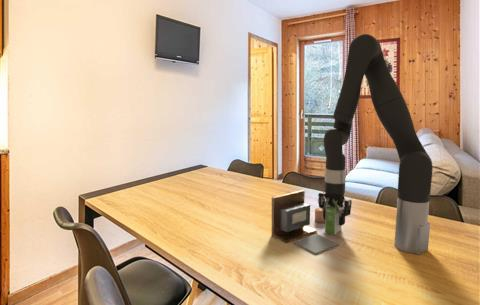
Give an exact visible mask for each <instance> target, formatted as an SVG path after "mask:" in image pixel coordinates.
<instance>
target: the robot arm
mask: <svg viewBox="0 0 480 305" xmlns="http://www.w3.org/2000/svg"><path fill="white" fill-rule="evenodd" d="M347 53H348V54H347V61H346V66H345V73H344V76H343V77H344V78H343V82H342V86H341V89H340V92H339V95H338V98H337V102H336V105H335V109H334V111H333V115H332V116H333V117H332V118H333V120H334V124H333V127H332V128H329V129H328V130H326V132H325V133H324V137H323V148H324V153H325V158H326V159H325V172H324V192H323V191H322V192H319V193H318V195H317V196H318V199H319V204H318V208H322V210H323V218H324V220H326V208H328V207H329V206H333V207H335V208H336V201H337V200H338V202H337V211H338V213H339V215H340V216H339V225H340V226H341V227H342V226H344V225H345V223H346V217H349V216H351V212H352V199H346V198H345V193H346V176H347V175H346V162H347V161H346V155H345V154H344V153H343V146H344V145H346V144H347V142H348V141H349V139H350V136H351V132H352V128H353V127H352V126H353V120H354V117H355V114H356V110H357V109H358V105H359V101H360V96H361V90H362V86H363V85H362V84H363V80H364V76H365V78H366V81H367V84H368V88H369V93H370V98H371V102H372V105H373V107H374V111H375V113H376V115H377V117H378V119H379V121H380V124H382V126H383V129H384V130H385V131H386V132H387V134H388V135H389V137H390V138H391V140H392V142H393V144H394V146H395V149H396V152H397V155H398V159H399V164H398V165H399V166H398V179H397V182H398V183H397V201H396V215H395V216H396V217H395V229H394V246H395V248H397V249H398V250H401V251H403V252H406V253H410V254H416V255H422V254H423V253H425V252H426V251H428V250H429V245H430V244H429V243H430V241H429V240H430V230H431V223H430V222H429V211H430V210H429V209H430V199H431V190H432V181H433V170H434V168H433V161H432V159H431V157H430V155H429V154H428V152H427V150H426V149H425V148H424V146H423V144H422V142H421V141H420V139H419V136H418V135H417V133H416V132H417V131H416V130H415V126H414V123H413V120H412V116H411V113H410V110H409V107H408V105H407V102H406V100H405V98H404V96H403V94H402V92H401V90H400V88H399V86H398V84H397V83H396V80H395V79H394V77H393V76H392V74H391V72H390V71H389V68H388V66H387V62H386V60H385V56H384V53H383V49H382V46H381V44H380V41H379V40H378V39H377V38H376V37H374V36H373V35H371V34H369V33H363V34H362V33H361V34H359V35H357V36H355V37H354V38H353V40H351V42H350V44H349V48H348V52H347ZM325 198H326V202H325ZM343 202H344V204H343ZM340 206H341V208H339V207H340Z"/></svg>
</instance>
